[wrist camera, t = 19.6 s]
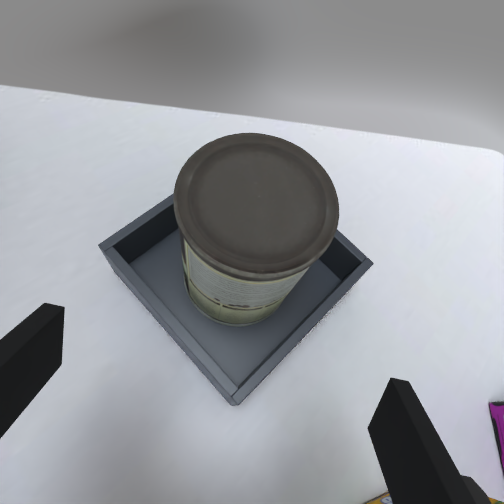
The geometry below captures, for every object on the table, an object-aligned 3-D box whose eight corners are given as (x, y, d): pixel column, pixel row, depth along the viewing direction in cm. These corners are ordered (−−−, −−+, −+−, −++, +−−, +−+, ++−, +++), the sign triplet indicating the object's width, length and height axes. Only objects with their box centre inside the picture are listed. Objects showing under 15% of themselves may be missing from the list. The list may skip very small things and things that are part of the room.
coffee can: (165, 251, 35) (146, 159, 22) (257, 214, 38) (288, 114, 25) (211, 348, 32) (220, 307, 19) (307, 299, 35) (371, 235, 22)
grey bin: (113, 270, 34) (97, 244, 29) (238, 179, 40) (245, 144, 35) (231, 405, 31) (238, 405, 26) (348, 284, 37) (374, 263, 32)
